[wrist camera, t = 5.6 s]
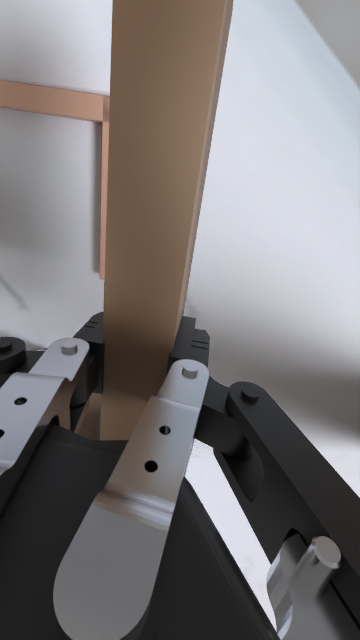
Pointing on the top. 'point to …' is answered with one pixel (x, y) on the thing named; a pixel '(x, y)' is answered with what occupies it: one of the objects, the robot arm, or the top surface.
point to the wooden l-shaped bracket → (153, 191)
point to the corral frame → (70, 107)
